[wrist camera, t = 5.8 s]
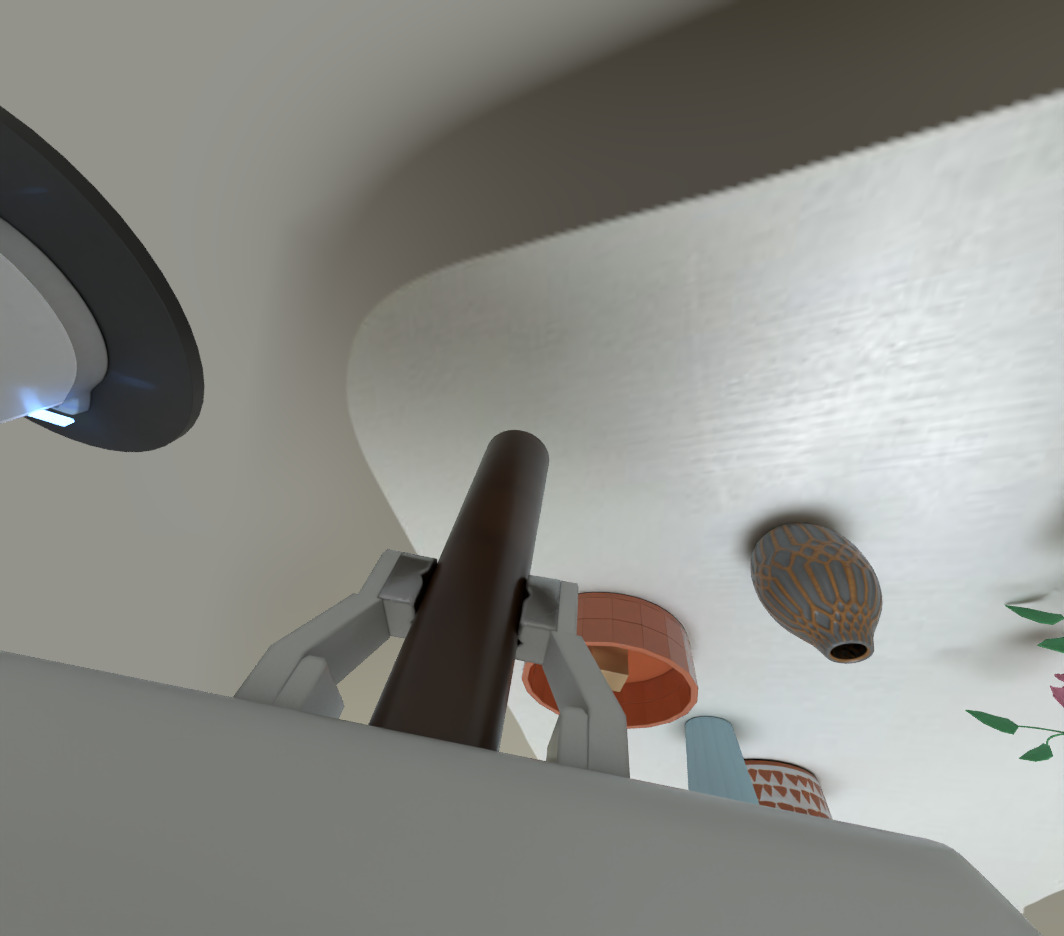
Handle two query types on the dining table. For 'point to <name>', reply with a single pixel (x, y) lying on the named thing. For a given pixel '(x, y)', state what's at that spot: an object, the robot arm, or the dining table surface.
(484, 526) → the dark brown cylinder
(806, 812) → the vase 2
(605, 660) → the block
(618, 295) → the dining table surface
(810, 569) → the vase
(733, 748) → the cup
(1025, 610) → the flower vase
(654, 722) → the bowl
